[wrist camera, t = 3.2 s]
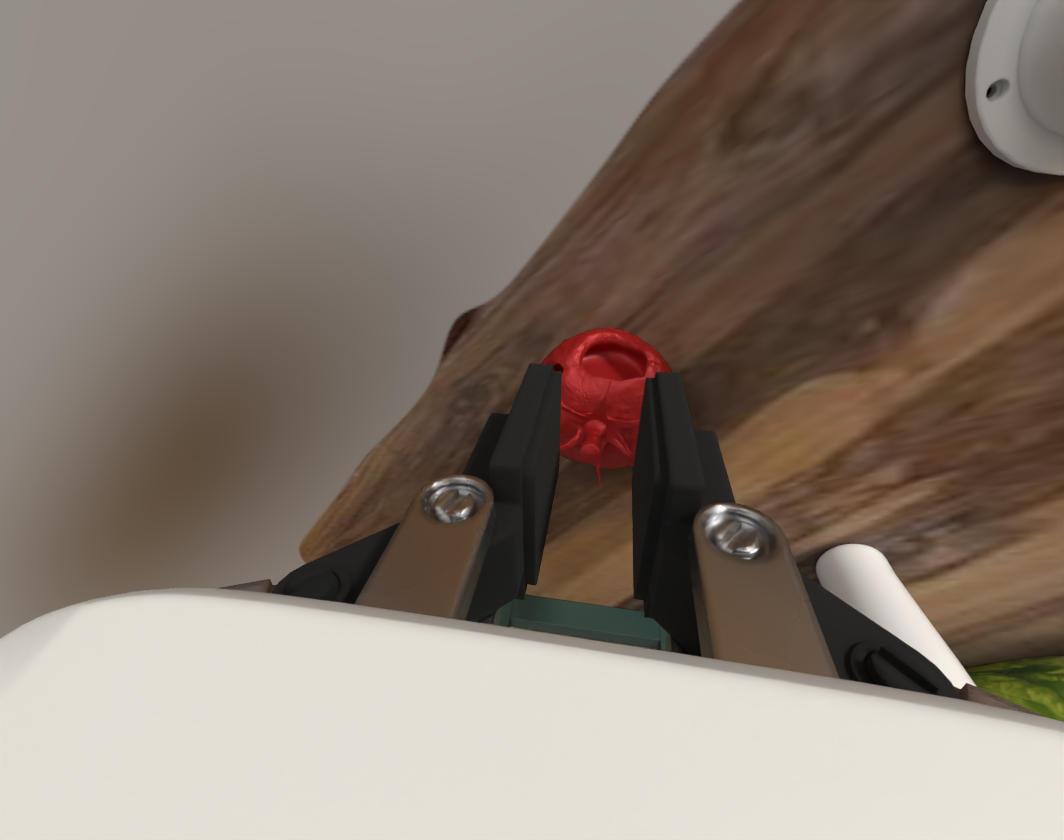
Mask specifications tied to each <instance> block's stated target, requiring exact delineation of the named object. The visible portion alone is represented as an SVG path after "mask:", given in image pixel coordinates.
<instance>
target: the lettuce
mask: <svg viewBox="0 0 1064 840" xmlns="http://www.w3.org/2000/svg"><path fill="white" fill-rule="evenodd" d="M964 669H965V670H966V671H967V673H968V674H969V676H970V677H971V679H972V680H973V682H974V683H975V685H976V686H977V687H978V688H980V689H983V690H985V691H987V692H990V693H992V694H994V695H997V696H999V697H1001V698H1004V699H1006V700H1008V701H1011V702H1013V703H1015V704H1018V705H1020V706H1023V707H1025V708H1027V709H1030V710H1032V711H1034V712H1037V713H1039V714H1041V715H1044V716H1046V717H1048V718H1051V719H1054V720H1058V721H1062V722H1064V656H1046V657H1036V658H1025V659H1017V660H1012V661H1006V662H1000V663H994V664H988V665H982V666H975V667H969V668H964Z"/></svg>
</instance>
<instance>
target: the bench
mask: <svg viewBox="0 0 1064 840" xmlns="http://www.w3.org/2000/svg"><path fill="white" fill-rule="evenodd" d="M499 626H504V627H510V626H511V627H518V628H524V629H531V630H538V631H544V632H551V633H557V634H564V635H570V636H577V637H583V638H590V639H597V640H603V641H610V642H616V643H623V644H629V645H636V646H642V647H649V648H656V649H658V650H661V651H666V646H665V639H666V631H665V630H664V629H663V628H662V627H661V626H660V625H659V624H658V623H657V622H656V621H655V620H654V619H652V618H645V617H644V612H642V611H635V610H628V609H621V608H614V607H607V606H600V605H593V604H586V603H578V602H571V601H564V600H557V599H550V598H543V597H536V596H529V595H525V597H524V600H519V599H514V600H512V601H511V602H509V603H507V604H506V605H504V606H502V609H501V619H500V623H499Z"/></svg>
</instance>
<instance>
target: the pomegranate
mask: <svg viewBox="0 0 1064 840" xmlns="http://www.w3.org/2000/svg"><path fill="white" fill-rule="evenodd" d="M541 364H546V365H553V367H554V371H560V372H562V387H561V422H560V454H561V455H563V456H564V457H565V458H567V459H570V460H572V461H577V462H581V463H585V464H589V465H592V466H594V467H597V468H596V473H597V475H598V477H599V481H600V486H601V483H602V477H601V473H600V467H601V468H606V469H617V468H623V467H627V466H634V459H635V452H636V445H637V437H638V430H639V423H640V415H641V408H642V401H643V394H644V386H645V380H646V377H647V378H655V374H656V372H665V373H672V371H671V369H670V367H669V365H668V364H667V363H666V361H665V360H664V358H663V357H662V356H661V355H660V354H659V353H658V352H657V351H656V350H655V349H654V348H653V347H652V346H650V345H649V344H647V343H646V342H644V341H643V340H642V339H640V338H639V337H637V336H635V335H631V334H630V333H628V332H626V331H624V330H620V329H614V328H602V329H592V330H588V331H586V332H584V333H580V334H578V335H576V336H574V337H572V338H569V339H567V340H565V341H563V342H562V343H561V344H560V345H559V346H558V347H556V348H555V349H554V350H553V351H552V352H551V353H550V354H549V355H548V356H547V357H546V358H545V359H544V360H543V362H542V363H541Z"/></svg>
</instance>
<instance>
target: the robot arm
mask: <svg viewBox="0 0 1064 840" xmlns="http://www.w3.org/2000/svg"><path fill="white" fill-rule="evenodd" d="M989 87H991V92H990V93H989V95H988V96H987V97H986V94H987V90H988V89H989ZM965 98H966V103H967V108H968V113H969V119H970V121H971V123H972V125H973V127H974V129H975V131H976V133H977V136H978V138H979V140H980V141H981V142H982V143H983V144H984V145H985V146H986V147H987V148H988V149H989V150H990V151H991V153H992V154H993V155H994V156H996V157H998V158H1000V159H1001V160H1003V161H1005V162H1006V163H1008V164H1010V165H1011V166H1014V167H1017V168H1021V169H1024V170H1028V171H1032V172H1035V173H1045V174H1054V175H1064V0H987V2H986V4H985V6H984V9H983V12H982V14H981V17H980V19H979V22H978V24H977V27H976V30H975V32H974V35H973V38H972V43H971V47H970V52H969V56H968V61H967V65H966V82H965ZM561 387H562V372H560V371H554V367H553V365H546V364H531V363H530V364H529V367H528V369H527V372H526V374H525V376H524V379H523V381H522V384H521V386H520V389H519V391H518V394H517V396H516V399H515V401H514V404H513V406H512V409H511V411H510V413H509V414H498V413H492V414H491V415H490V416H489V418H488V420H487V423H486V425H485V427H484V429H483V431H482V433H481V435H480V437H479V440H478V442H477V444H476V446H475V448H474V450H473V452H472V454H471V457H470V459H469V461H468V463H467V465H466V467H465V469H464V471H463V474H462V475H448V476H443V477H440V478H438V479H435V480H433V481H431V482H429V483H428V484H426V485H425V486H423V487H422V488H421V489H420V490H419V492H418V493H417V494H416V495H415V497H414V499H413V501H412V503H411V504H410V506H409V508H408V510H407V511H406V513H405V515H404V517H403V519H402V520H401V522H400V523H398V524H395V525H393V526H391V527H389V528H386V529H384V530H382V531H380V532H377V533H375V534H373V535H371V536H368V537H366V538H364V539H361V540H359V541H357V542H355V543H352V544H350V545H348V546H346V547H343V548H341V549H339V550H337V551H334V552H332V553H330V554H327V555H325V556H323V557H321V558H318V559H316V560H314V561H312V562H309V563H307V564H305V565H303V566H301V567H299V568H298V569H296V570H294V571H292V572H291V573H289V574H288V575H287V576H286V577H285V578H283V579H282V580H281V581H280V582H279V583H278V584H277V585H272V583H271V580H270V579H267V580H262V581H256V582H251V583H245V584H239V585H234V586H228V587H222V588H172V589H159V590H146V591H135V592H129V593H124V594H119V595H113V596H108V597H102V598H97V599H93V600H89V601H85V602H82V603H78V604H74V605H71V606H68V607H65V608H62V609H59V610H56V611H53V612H50V613H47V614H45V615H43V616H41V617H38V618H36V619H34V620H32V621H30V622H28V623H26V624H24V625H22V626H20V627H18V628H17V629H15V630H13V631H12V632H10V633H9V634H7V635H5V636H4V637H2V638H0V840H1064V722H1062V721H1058V720H1054V719H1051V718H1048V717H1046V716H1044V715H1041V714H1039V713H1037V712H1034V711H1032V710H1030V709H1027V708H1025V707H1023V706H1020V705H1018V704H1015V703H1013V702H1011V701H1008V700H1006V699H1004V698H1001V697H999V696H997V695H994V694H992V693H990V692H987V691H985V690H983V689H980V688H978V687H975V686H973V685H971V684H968V683H966V684H965V685H964V686H963V687H962V688H961V689H959V688H957V687H954V686H953V684H952V683H951V681H950V680H949V679H948V678H947V677H946V676H945V675H944V674H943V672H942V671H941V670H940V669H939V668H938V667H937V666H936V665H935V664H933V663H932V662H931V661H930V660H928V659H927V658H926V657H925V656H923V655H922V654H921V653H920V652H918V651H917V650H915V649H914V648H912V647H911V646H909V645H908V644H906V643H905V642H903V641H902V640H900V639H899V638H898V637H896V636H895V635H893V634H892V633H890V632H889V631H887V630H886V629H884V628H883V627H881V626H880V625H878V624H877V623H875V622H874V621H872V620H871V619H869V618H868V617H866V616H865V615H863V614H862V613H860V612H859V611H858V610H856V609H855V608H853V607H852V606H850V605H849V604H847V603H846V602H844V601H843V600H841V599H840V598H838V597H837V596H835V595H834V594H832V593H831V592H829V591H828V590H826V589H825V588H823V587H822V586H820V585H819V584H818V583H816V582H815V581H813V580H812V579H810V578H809V577H807V576H806V575H804V574H803V573H801V572H800V571H799V570H798V568H797V565H796V562H795V560H794V557H793V554H792V552H791V549H790V546H789V544H788V541H787V538H786V536H785V535H784V533H783V531H782V530H781V528H780V527H779V526H778V525H777V524H776V523H775V522H774V521H773V520H772V519H771V518H769V517H768V516H766V515H765V514H763V513H761V512H760V511H758V510H756V509H753V508H751V507H748V506H746V505H741V504H736V503H735V500H734V496H733V493H732V489H731V486H730V482H729V479H728V475H727V472H726V468H725V465H724V461H723V458H722V454H721V451H720V447H719V444H718V440H717V437H716V434H715V432H713V431H701V430H693V425H692V420H691V416H690V411H689V407H688V402H687V397H686V393H685V388H684V384H683V379H682V375H681V374H680V373H665V372H656V374H655V378H647V377H646V380H645V386H644V394H643V401H642V408H641V415H640V423H639V430H638V437H637V445H636V452H635V459H634V467H633V475H632V516H633V586H634V599H639V600H644V617H645V618H652V619H654V620H655V621H656V622H657V623H658V624H659V625H660V626H661V627H662V628H663V629H664V630H665V631H666V639H665V646H666V651H661V650H655V649H648V648H642V647H635V646H629V645H622V644H616V643H609V642H603V641H596V640H590V639H583V638H577V637H570V636H563V635H557V634H550V633H544V632H537V631H531V630H524V629H517V628H511V627H504V626H499V623H500V619H501V609H502V606H504V605H506V604H507V603H509V602H511V601H512V600H514V599H519V600H524V597H525V593H526V588H527V584H531V585H536V584H537V580H538V576H539V570H540V565H541V560H542V555H543V550H544V545H545V540H546V535H547V530H548V524H549V519H550V514H551V509H552V504H553V499H554V494H555V489H556V484H557V478H558V472H559V456H560V422H561Z"/></svg>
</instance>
